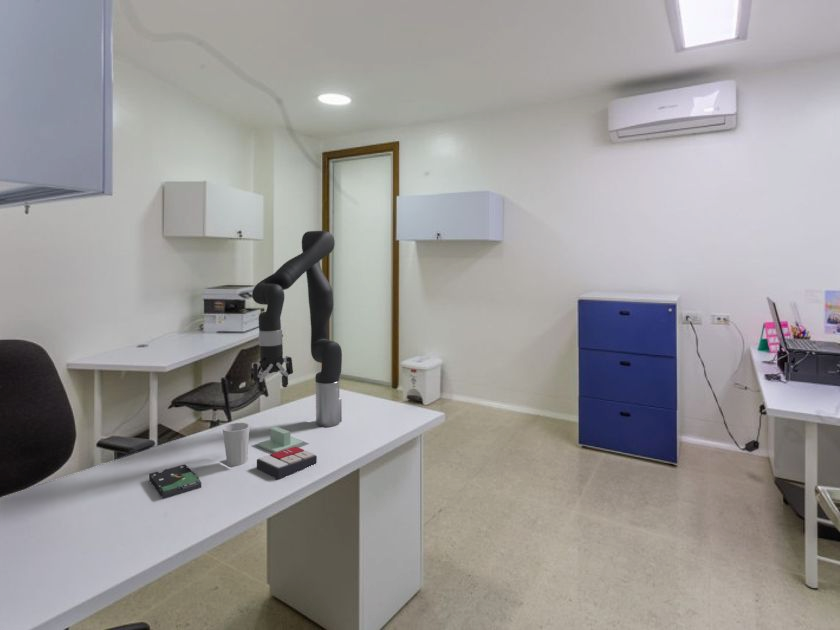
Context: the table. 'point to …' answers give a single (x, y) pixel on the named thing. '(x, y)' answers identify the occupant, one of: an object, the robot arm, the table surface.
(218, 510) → the table surface
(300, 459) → the red white black box
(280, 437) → the cover
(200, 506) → the table surface
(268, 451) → the mat
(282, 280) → the robot arm
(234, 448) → the cup
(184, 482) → the disk drive
